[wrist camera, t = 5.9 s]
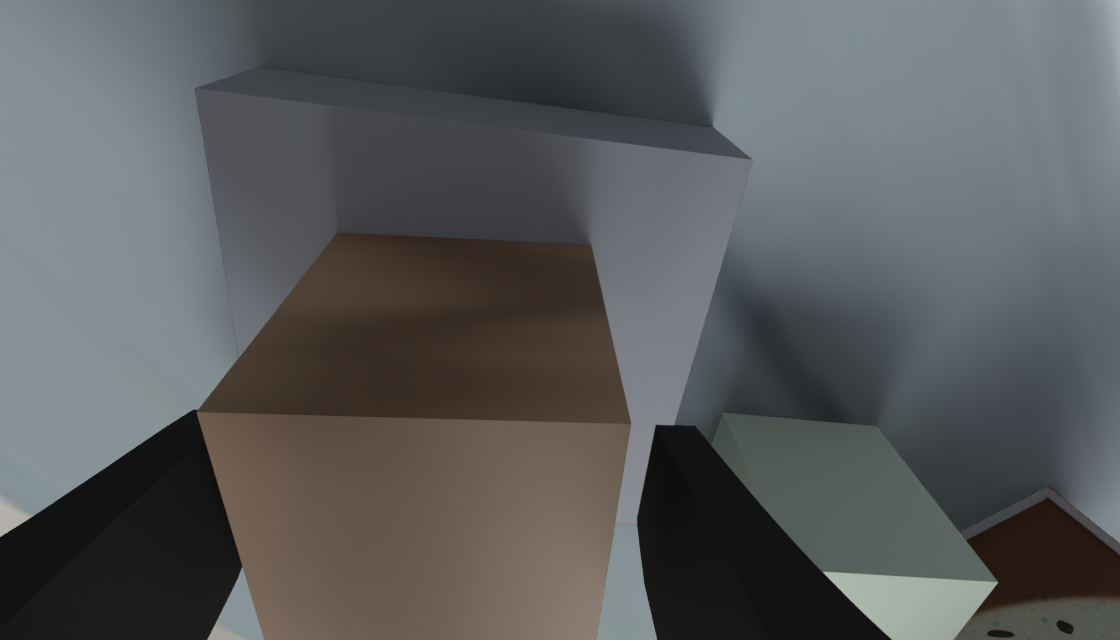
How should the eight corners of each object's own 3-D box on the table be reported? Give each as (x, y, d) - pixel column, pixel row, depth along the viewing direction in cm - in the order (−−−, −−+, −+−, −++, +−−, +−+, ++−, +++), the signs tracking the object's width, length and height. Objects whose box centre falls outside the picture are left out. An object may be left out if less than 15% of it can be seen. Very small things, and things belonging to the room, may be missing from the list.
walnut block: (591, 244, 11) (631, 424, 6) (571, 436, 13) (591, 665, 9) (337, 232, 10) (196, 411, 6) (361, 430, 13) (271, 666, 8)
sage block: (876, 424, 17) (998, 582, 12) (818, 534, 19) (905, 701, 14) (721, 411, 16) (792, 569, 12) (681, 525, 18) (728, 694, 14)
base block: (707, 122, 13) (752, 160, 10) (627, 441, 17) (644, 524, 14) (269, 64, 12) (194, 88, 9) (305, 417, 16) (262, 501, 14)
